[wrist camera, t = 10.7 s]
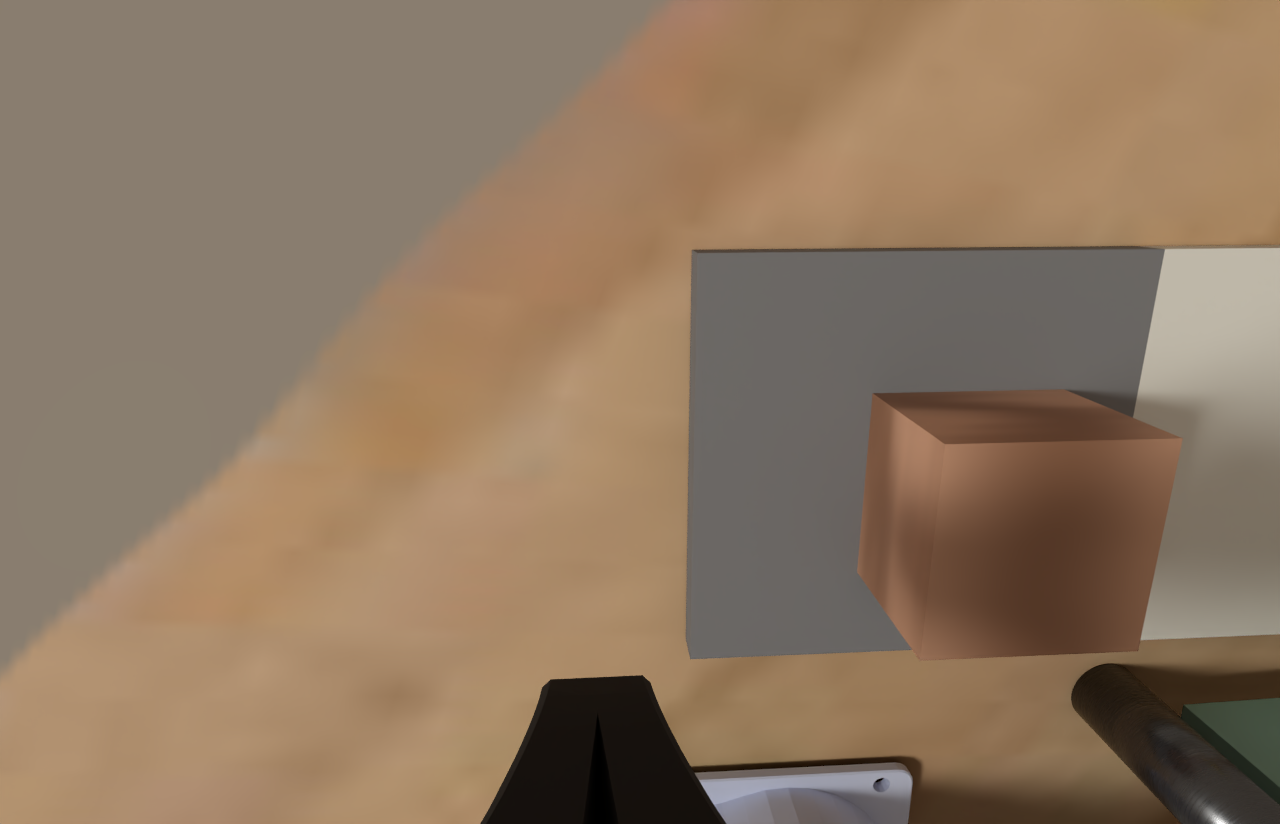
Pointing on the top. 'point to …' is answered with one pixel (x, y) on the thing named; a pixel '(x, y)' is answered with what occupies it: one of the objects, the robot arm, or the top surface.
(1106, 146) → the top surface
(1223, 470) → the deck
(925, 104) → the top surface
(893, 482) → the block
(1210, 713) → the bar
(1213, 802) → the gate post
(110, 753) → the top surface
